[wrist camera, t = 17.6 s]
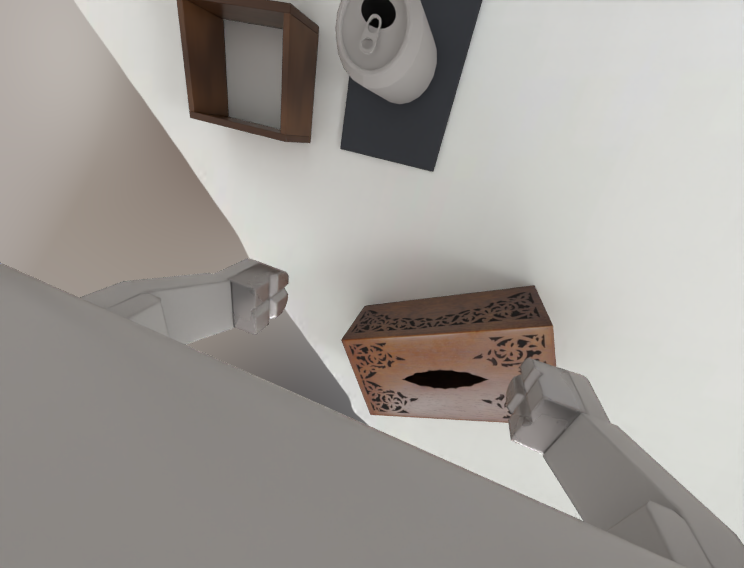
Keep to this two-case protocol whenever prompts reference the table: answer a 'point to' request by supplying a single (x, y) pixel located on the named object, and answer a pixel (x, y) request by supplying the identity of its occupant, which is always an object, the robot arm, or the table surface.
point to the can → (387, 47)
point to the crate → (208, 66)
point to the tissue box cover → (448, 353)
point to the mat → (424, 114)
